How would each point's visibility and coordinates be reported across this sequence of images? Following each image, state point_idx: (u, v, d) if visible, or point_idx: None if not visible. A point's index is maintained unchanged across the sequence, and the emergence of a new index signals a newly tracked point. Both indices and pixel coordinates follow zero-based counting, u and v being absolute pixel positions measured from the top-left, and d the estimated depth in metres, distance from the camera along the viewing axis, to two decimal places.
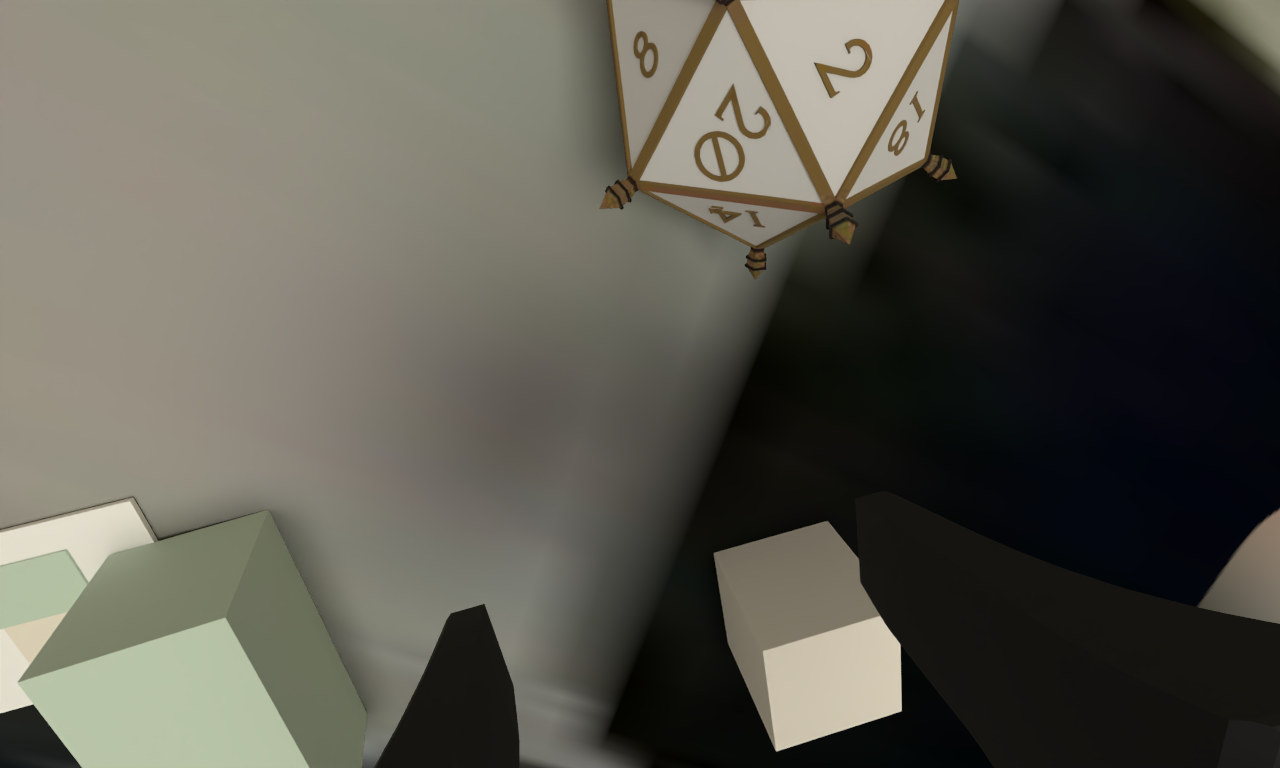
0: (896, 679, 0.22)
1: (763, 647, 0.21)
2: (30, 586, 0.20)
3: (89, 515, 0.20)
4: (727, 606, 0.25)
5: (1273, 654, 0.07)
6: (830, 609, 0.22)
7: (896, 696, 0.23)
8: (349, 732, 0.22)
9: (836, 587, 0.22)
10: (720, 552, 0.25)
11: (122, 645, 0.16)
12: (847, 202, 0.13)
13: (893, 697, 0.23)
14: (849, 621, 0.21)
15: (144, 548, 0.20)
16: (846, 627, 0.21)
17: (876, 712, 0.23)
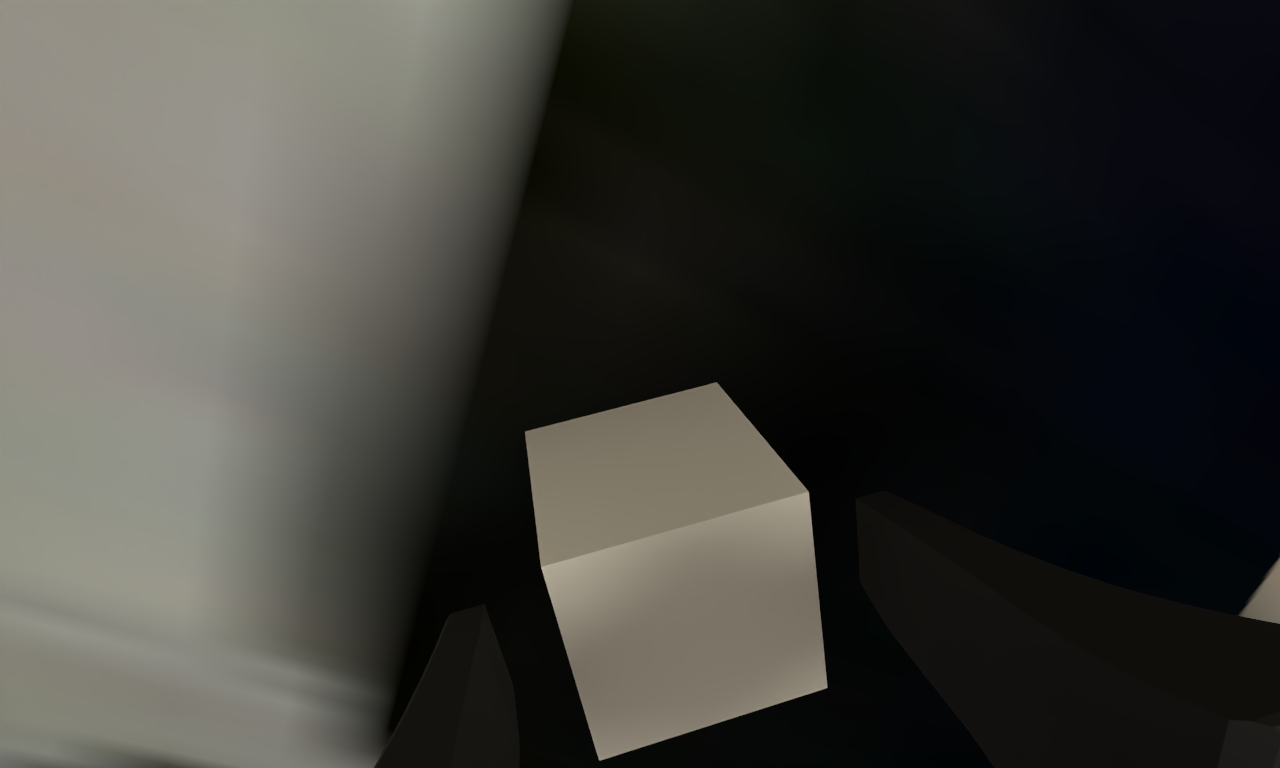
0: (813, 629, 0.12)
1: (543, 561, 0.11)
2: None
3: None
4: None
5: (1273, 654, 0.07)
6: (685, 497, 0.12)
7: (815, 661, 0.13)
8: None
9: (705, 464, 0.13)
10: (536, 430, 0.15)
11: None
12: None
13: (809, 663, 0.13)
14: (713, 514, 0.11)
15: None
16: (707, 523, 0.11)
17: (781, 690, 0.13)
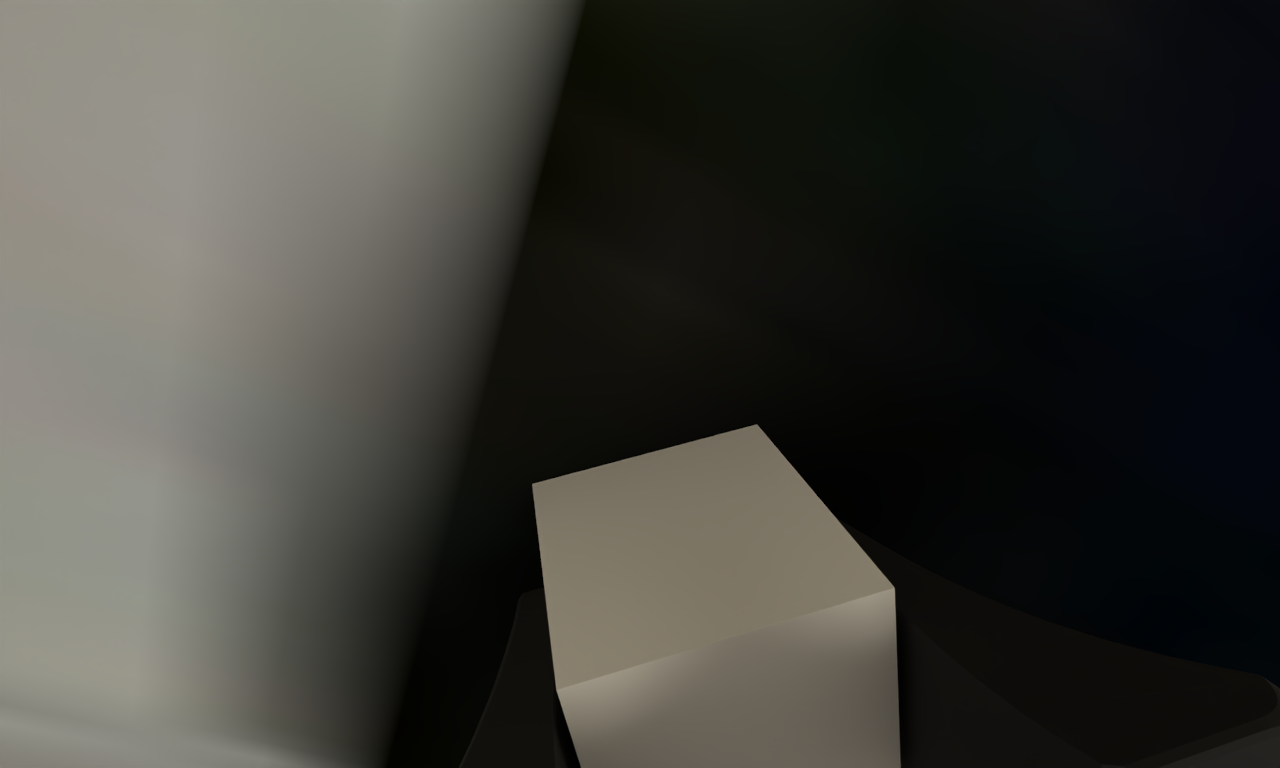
0: (889, 746, 0.10)
1: (559, 680, 0.08)
2: None
3: None
4: None
5: (1162, 691, 0.07)
6: (735, 590, 0.09)
7: None
8: None
9: (755, 542, 0.10)
10: (545, 484, 0.13)
11: None
12: None
13: None
14: (775, 617, 0.09)
15: None
16: (767, 630, 0.09)
17: None
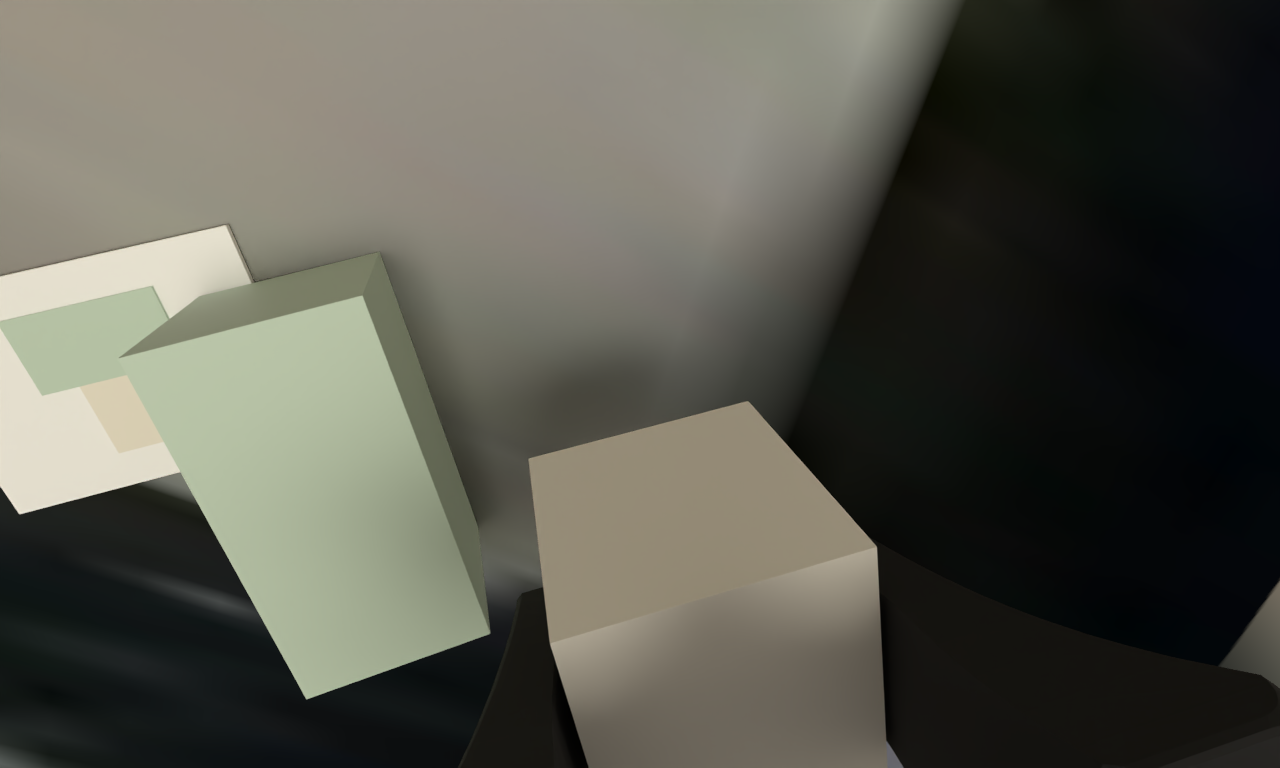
0: (874, 705, 0.10)
1: (553, 634, 0.09)
2: (111, 332, 0.17)
3: (178, 242, 0.17)
4: None
5: (1163, 691, 0.07)
6: (724, 552, 0.10)
7: (875, 740, 0.11)
8: (469, 527, 0.19)
9: (743, 508, 0.10)
10: (541, 458, 0.13)
11: (240, 324, 0.13)
12: None
13: (868, 743, 0.11)
14: (760, 574, 0.09)
15: (241, 287, 0.17)
16: (753, 587, 0.09)
17: None
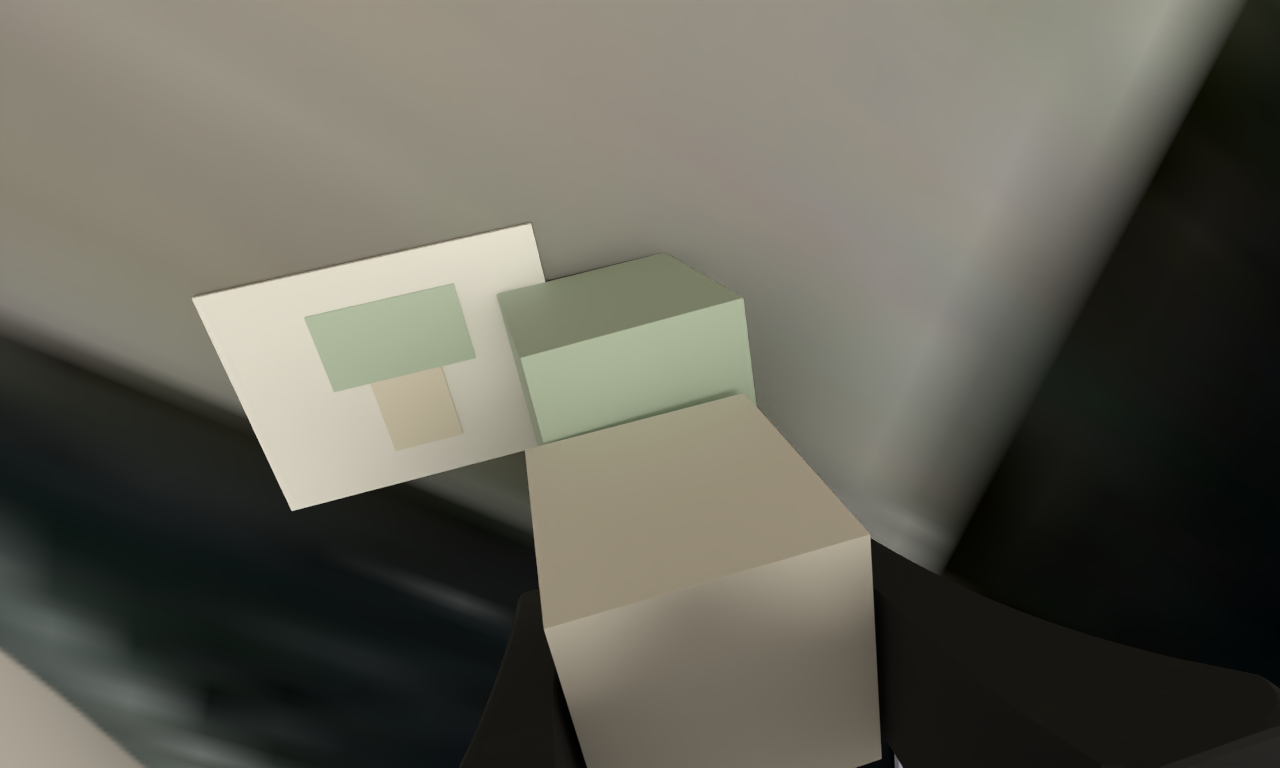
0: (868, 694, 0.10)
1: (547, 620, 0.09)
2: (408, 329, 0.17)
3: (484, 240, 0.17)
4: None
5: (1162, 692, 0.07)
6: (717, 539, 0.10)
7: (869, 729, 0.11)
8: None
9: (739, 497, 0.11)
10: (537, 449, 0.13)
11: (629, 325, 0.13)
12: None
13: (861, 732, 0.11)
14: (754, 561, 0.09)
15: (539, 286, 0.17)
16: (747, 575, 0.09)
17: (828, 762, 0.11)
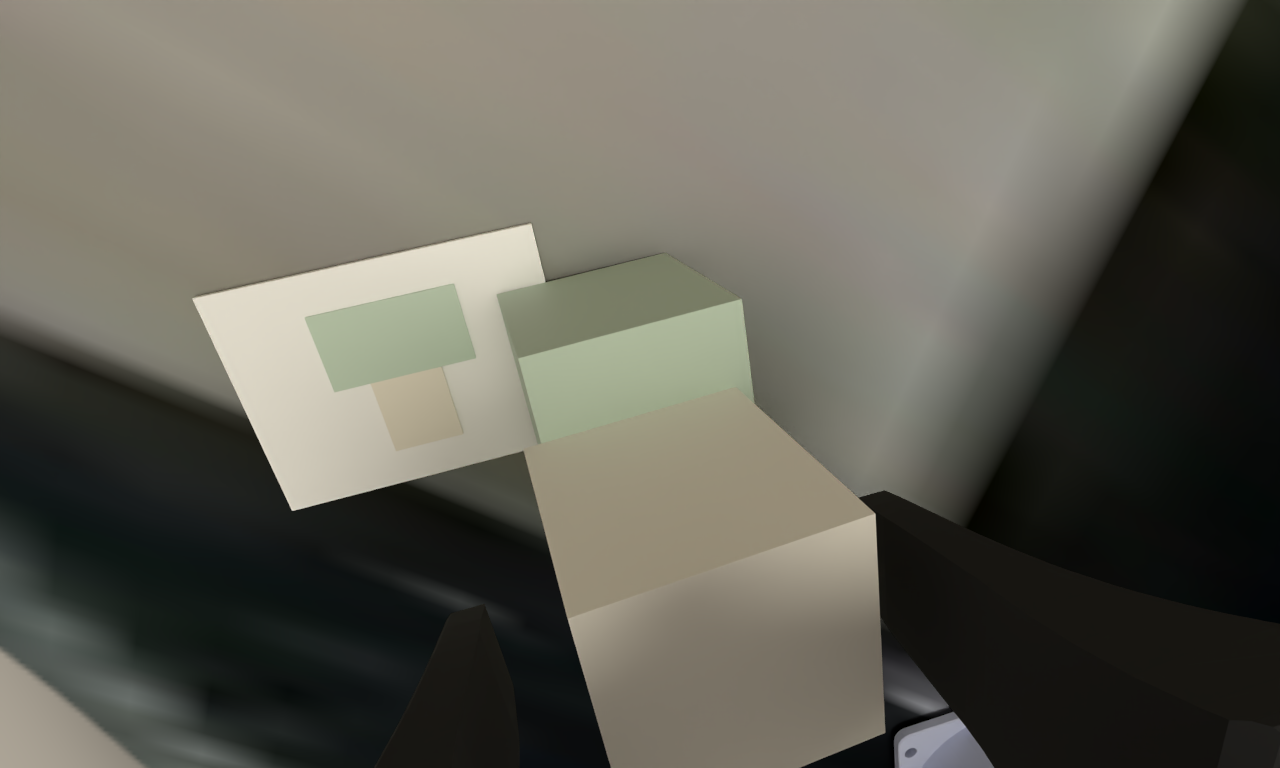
0: (873, 669, 0.11)
1: (569, 610, 0.09)
2: (408, 329, 0.17)
3: (484, 240, 0.17)
4: None
5: (1273, 654, 0.07)
6: (728, 525, 0.10)
7: (874, 704, 0.11)
8: None
9: (743, 484, 0.11)
10: (536, 448, 0.13)
11: (627, 326, 0.13)
12: None
13: (867, 707, 0.11)
14: (767, 544, 0.09)
15: (538, 286, 0.17)
16: (761, 556, 0.09)
17: (836, 738, 0.11)
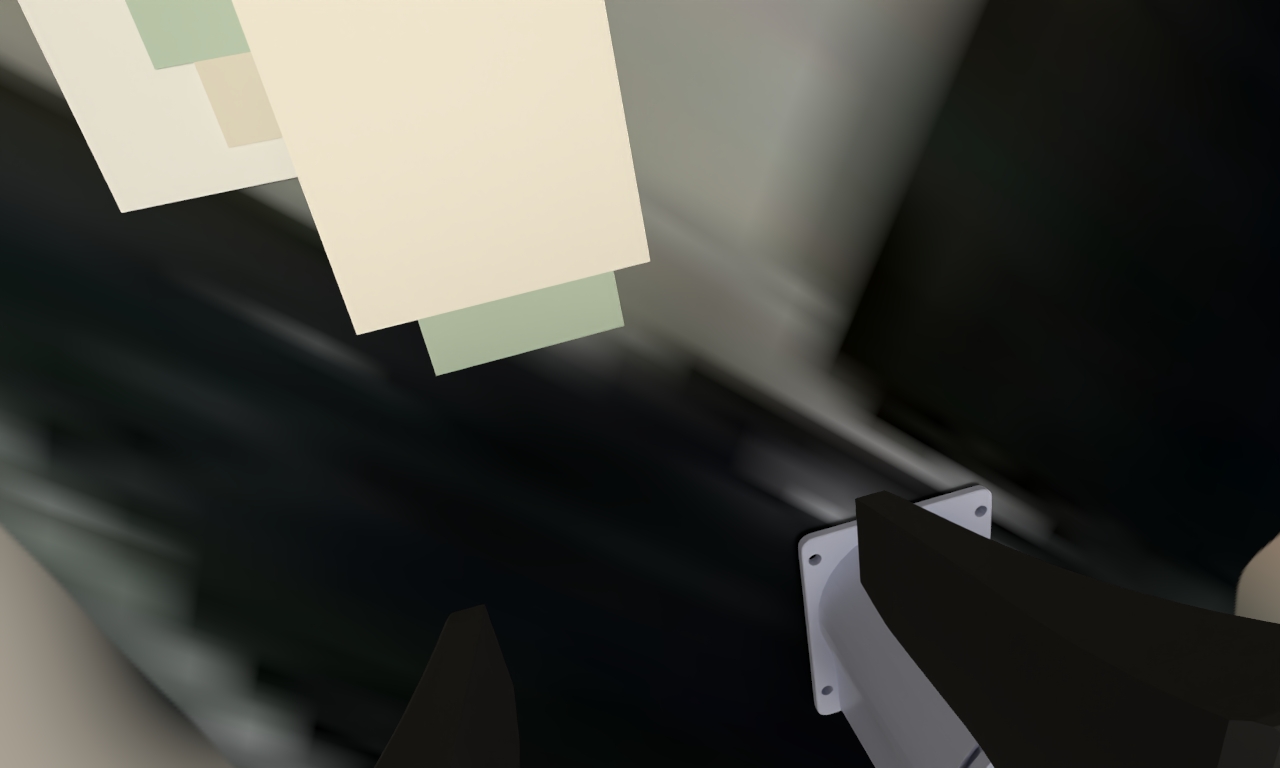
0: (621, 162, 0.10)
1: None
2: None
3: None
4: None
5: (1273, 654, 0.07)
6: None
7: (630, 214, 0.10)
8: None
9: None
10: None
11: None
12: None
13: (622, 218, 0.10)
14: None
15: None
16: None
17: (590, 255, 0.10)
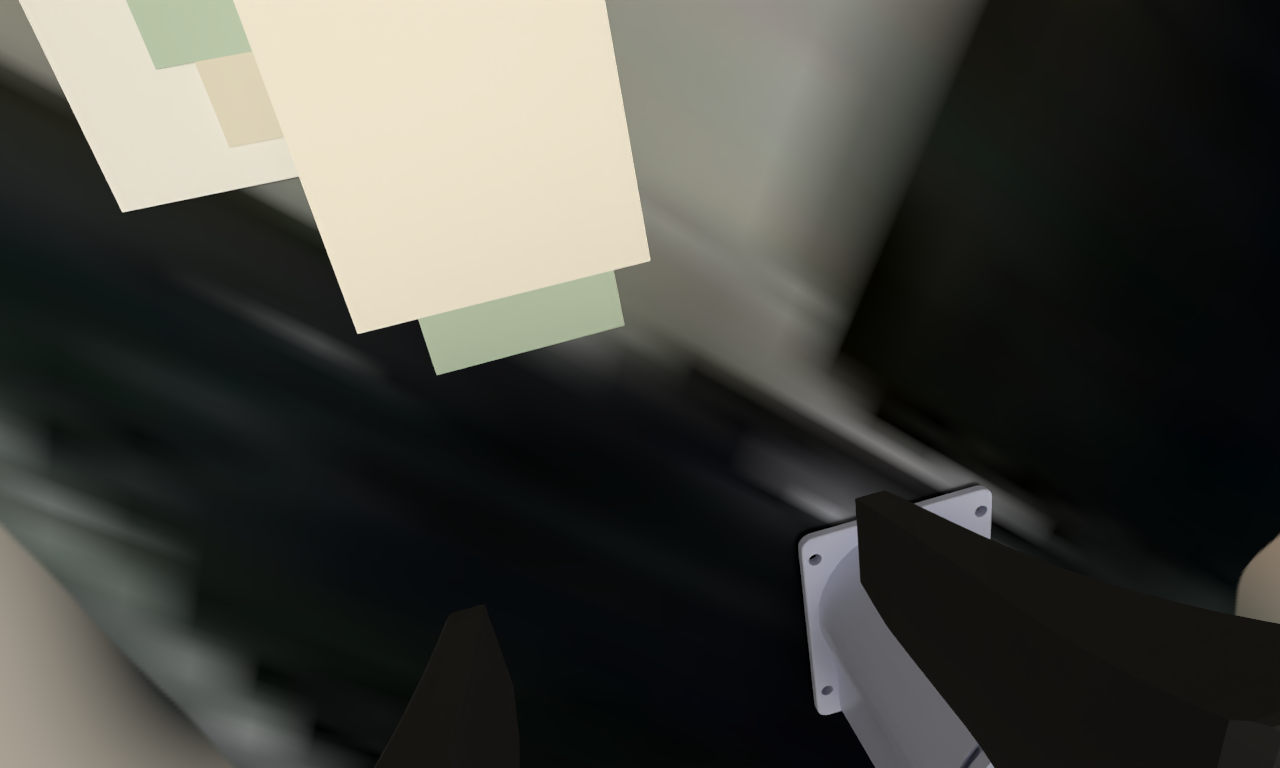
0: (622, 161, 0.10)
1: None
2: None
3: None
4: None
5: (1273, 654, 0.07)
6: None
7: (631, 214, 0.10)
8: None
9: None
10: None
11: None
12: None
13: (623, 217, 0.10)
14: None
15: None
16: None
17: (591, 254, 0.10)
